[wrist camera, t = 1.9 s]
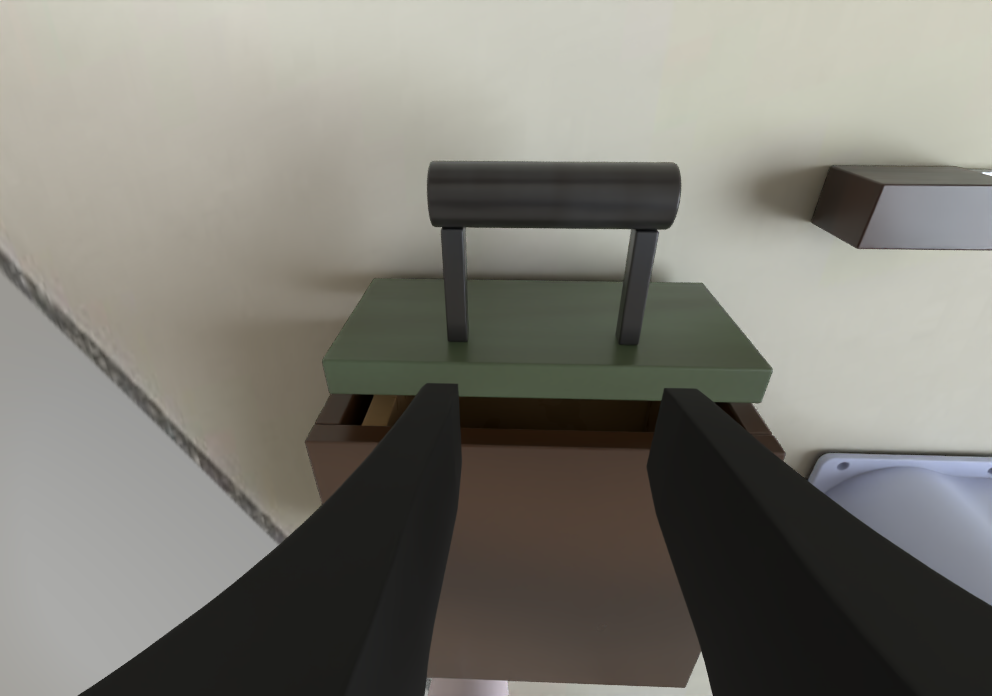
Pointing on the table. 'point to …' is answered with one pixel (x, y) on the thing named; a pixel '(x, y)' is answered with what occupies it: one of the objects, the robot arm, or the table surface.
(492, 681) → the smoothie
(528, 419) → the drawer
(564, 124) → the table surface
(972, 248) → the knife
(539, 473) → the cabinet
